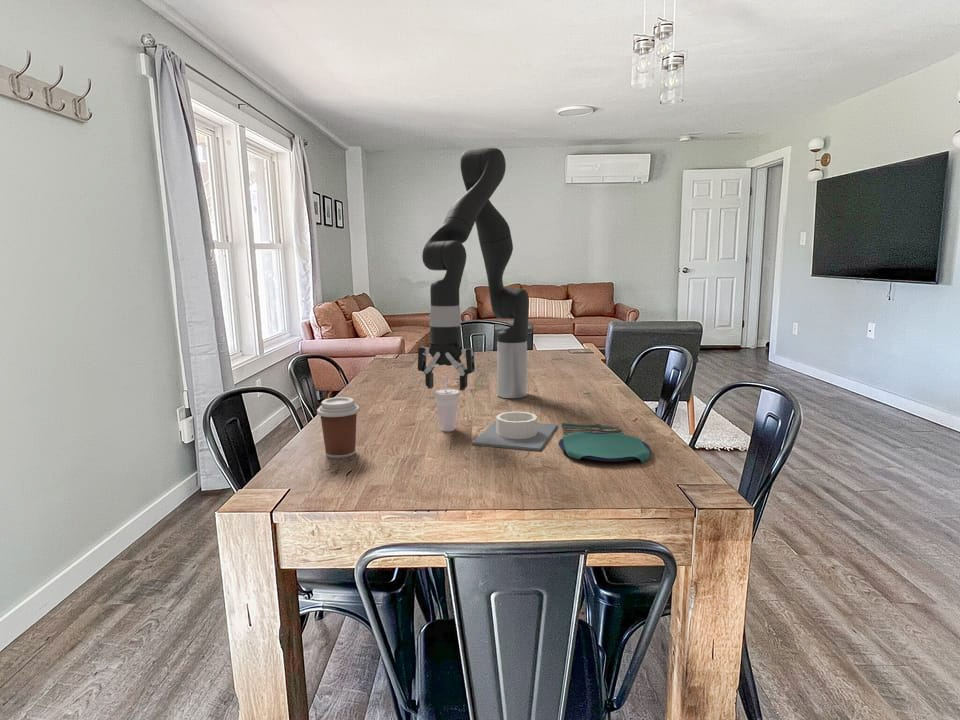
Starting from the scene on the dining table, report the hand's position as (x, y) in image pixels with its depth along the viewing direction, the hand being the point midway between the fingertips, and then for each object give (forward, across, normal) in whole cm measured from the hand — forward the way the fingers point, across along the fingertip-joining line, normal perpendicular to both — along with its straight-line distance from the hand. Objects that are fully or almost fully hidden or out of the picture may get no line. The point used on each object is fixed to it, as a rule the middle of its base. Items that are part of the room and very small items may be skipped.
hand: (446, 389), depth 144 cm
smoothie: (+11, 0, 0) cm, 11 cm away
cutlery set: (+11, -38, +1) cm, 40 cm away
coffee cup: (+11, +16, +24) cm, 31 cm away
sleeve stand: (+10, -18, 0) cm, 21 cm away
